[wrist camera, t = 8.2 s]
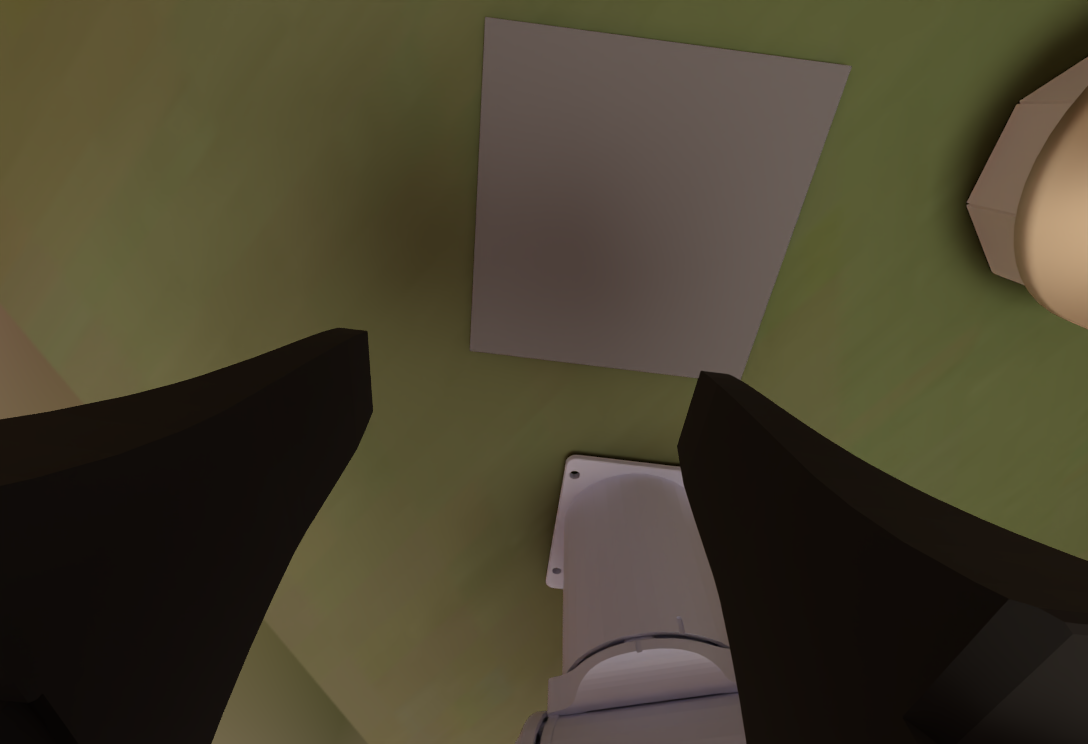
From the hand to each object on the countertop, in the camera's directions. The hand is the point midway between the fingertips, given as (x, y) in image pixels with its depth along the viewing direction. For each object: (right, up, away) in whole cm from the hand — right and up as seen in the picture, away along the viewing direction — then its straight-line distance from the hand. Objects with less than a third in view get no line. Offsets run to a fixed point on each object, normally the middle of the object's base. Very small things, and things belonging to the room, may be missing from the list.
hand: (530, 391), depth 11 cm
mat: (+4, +6, +8) cm, 11 cm away
